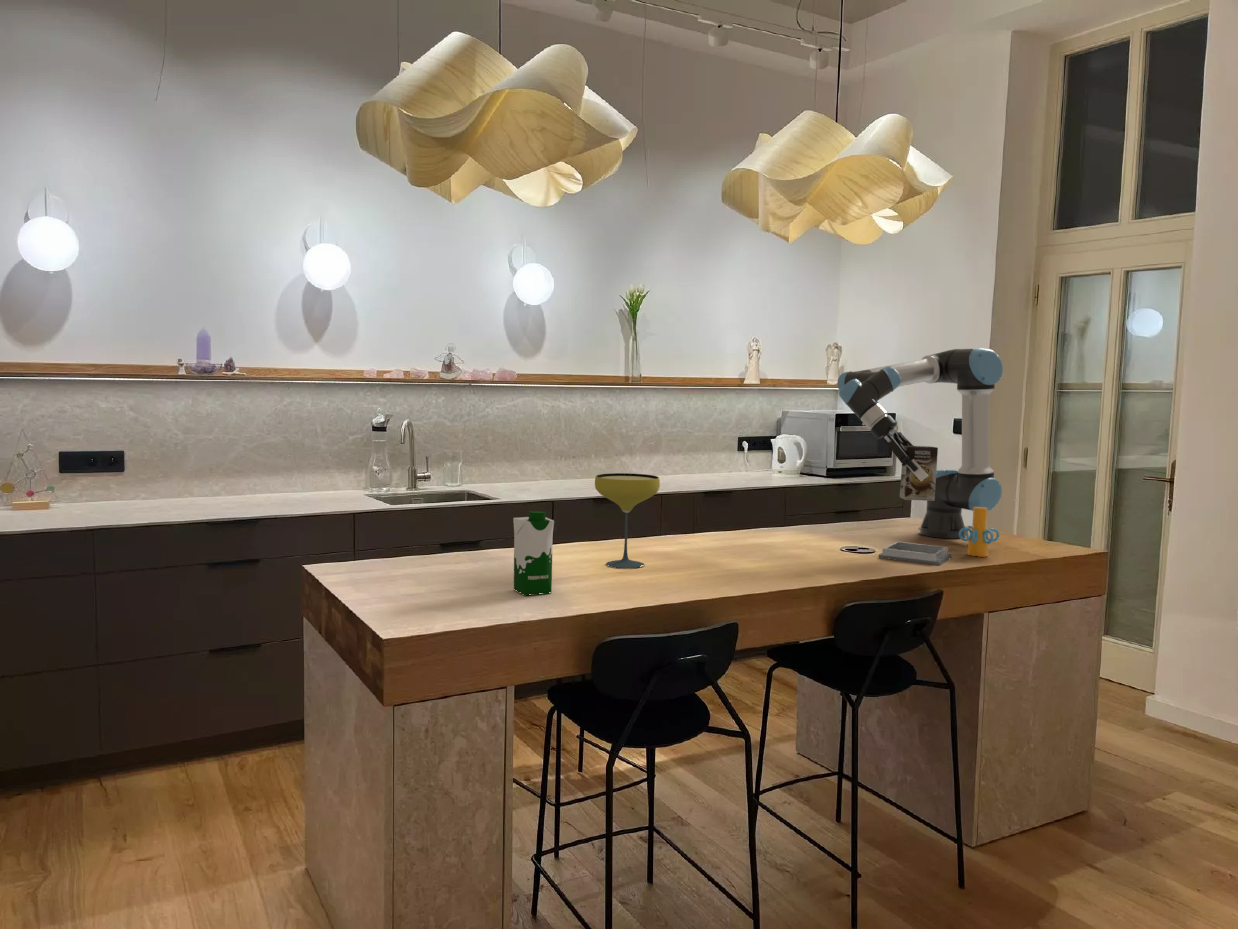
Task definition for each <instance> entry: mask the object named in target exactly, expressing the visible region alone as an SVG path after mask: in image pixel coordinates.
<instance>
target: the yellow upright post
mask: <svg viewBox="0 0 1238 929" xmlns="http://www.w3.org/2000/svg"><path fill="white" fill-rule="evenodd" d="M972 512H973V513H972V525H967V526H966V527H965V528H962V529H961V530H960V531H959V537H960V538H959V539H960V540H961V541H965V542H968V543H967V555H968V556H970V555H972V556H971V557H975V556H978V557H977V558H986V556H987V557H988V556H989V545H990V544H992V543H994V542H996V541H998V540H999V538H1000V532H999V530H998V529H996V528H992V527H991V528H988V529H987V521H988V511H987V508H986V507H974V509H973V511H972ZM964 530H965V534H966V536H965V537H964V538H963V537H962V535H961V533H962V531H964ZM993 532H995V533H996V537H995V538H994V534H993ZM989 535H990V538H989Z"/></svg>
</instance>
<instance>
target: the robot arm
mask: <svg viewBox="0 0 1238 929" xmlns="http://www.w3.org/2000/svg"><path fill="white" fill-rule="evenodd" d="M1003 371H1004V366H1003V362H1002V358H1001V357H1000V355H998V353H997V352H995V351H994V350H993V349H990V348H989V349H988V348H982V347H978V348H953V349H948V350H945V351H940V352H938V353H933V354H928V355H924V356H923V357H922V358H921V359H919V360H913V361H906V362H900V363H895V364H891V365H885V366H880V367H874V368H867V369H864V370H863V369H862V370H857V371H852V370H851V371H844V372H842V373H841V374H840V375H839V376H838V378H837V382H836V383H837V385H836V386H837V389H838V390H839V391H838V395H839V397H840V399H841V400H842V401H843V402H844V404H845V405H846V406H847V407H848V408H849V410H851V411H852V412H853V413H854V414H855V416H856V417H857V418H858V419H859V420H860V421H861V422H862V423H861V424H862V425H861V426H865V427H866V428H867V429H868V430H869V429H870V432H871V433H872V435H873V436H874V437H875V438H876V439H877V440H880V439H882V441H883V442H884V443H885V444H886V446H888V448H889V449H890V450H891V451H892V453H893V454H894V455H895V456H896V458H897V459H898V460H899V462H900V463H901V467H902V466H905V465H906V464H907V465H906V466H907V467H908V468H909V469H910V470H911V471H912V472H913V473H914V474H915V476H916V477H917V478H918V479H919V480H920V481H921V482H922V481H923V480H924V479H925V478H926V477H928V476H929V475H928V474H927V473H926V472H925V471H924V470H923V469H922V468H921V467H920V466H919V464H918V463H917V462H916V461H915V460H914V459H913V460H912V458H911V457H910V455H909V454H908V453H907V451H906V449H905V448H904V447H903V445H904V446H914V444H913V443H911V442H910V441H909V439H908V438H906V436H905V435H904V434H903V433H902V432H901V431H897V430H895V429H894V428H895V427H896V426H897V421H896V419H895V418H893V417H892V416H891V415H890V414H889V413H888V411H887V410H886V409H885V408H884V407H883V406H882V405H881V404H880V403H879V402H878V401H879V400H881V399H883V398H884V397H886V396H887V395H889V394H890V393H892V392H894V391H895V390H896V389H897V388H899V387H904V386H910V385H915V384H920V383H926V384H930V385H931V384H937V383H944V384H945V383H947V384H956V390H957V391H958V392H959V393H960V395H961V466H960V467H959V468H958V469H937V470H936V485H935V501H926V510H925V512H926V513H925V515H924V517H923V519H922V522H921V524H920V527H919V534H920V535H922V536H925V537H933V538H939V539H960V537H959V531H960V530H961V529H962V528H965V524H964V523H965V522H964V519H963V515H962V511H963V510H966V511H972V512H973V509H974V507H986V508H987V512H990V511H992V510H993V509H994V508H995V507H996V506H997V505H998V504H999V502H1000V501H1001V499H1002V494H1003V491H1002V490H1003V489H1002V485H1001V483H1000V481H999V480H998V479H996V478H995V470H993V469H992V467H991V465H990V407H991V406H990V404H991V403H990V400H991V399H990V395H991V393H992V392H993V391H994V390H995V387H996V386H995V384H997V383H998V382H999V381H1000V380H1001V377H1002V376H1003ZM911 460H912V461H911ZM961 535H962V537H963V538H966V534H965V530H964V531H962V533H961Z"/></svg>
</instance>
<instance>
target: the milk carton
mask: <svg viewBox="0 0 1238 929" xmlns="http://www.w3.org/2000/svg"><path fill="white" fill-rule="evenodd" d="M546 515H547V512H546V511H544V510H529V511H528V516H524V517H522V516H521V517H513V521H512V522H513V534H514V535H513V537H514V540H513V546H514V547H513V548H514V549H513V590H514V589H515V590H517V591H518V592H521V593H522V594H524V595H529V594H539V593H549V592H551V593H552V587H553V586H552V584H553V581H552V579H553V538H554V537H553V533H554V525H555V520H554V519H551V518H548V517H546ZM515 590H514V591H515ZM517 591H516V592H517ZM518 592H517V593H518ZM522 594H521V595H522ZM524 595H523V596H524Z"/></svg>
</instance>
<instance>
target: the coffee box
mask: <svg viewBox="0 0 1238 929" xmlns="http://www.w3.org/2000/svg"><path fill="white" fill-rule="evenodd" d="M903 447H904V448H905V449H906V451H907V453H908V454H909V455H910V457H911V458H912V460H913V459H914V460H915V461H916V462H917V463H918V464H919V466H920V467H921V468H922V469H923V470H924V471H925V472H926V473H927V474H928V475H929V476H928V477H926V478H925V479H924V480H923V481H922V482H921V481H920V480H919V479H918V478H917V477H916V476H915V474H914V473H913V472H912V471H911V470H910V469H909V468H908V467H907V466H906V465H907V464H906V465H905V466H902V465H901V471H900V472H901V474H900V486H899V488H900V489H899V498H901V499H902V500H904V501H922V502H923V501H925V502H927V501H935V485H936V470H938V453H939V448H938V447H935V446H928V445H927V446H924V445H913V446H904V445H903ZM912 460H911V461H912Z"/></svg>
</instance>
